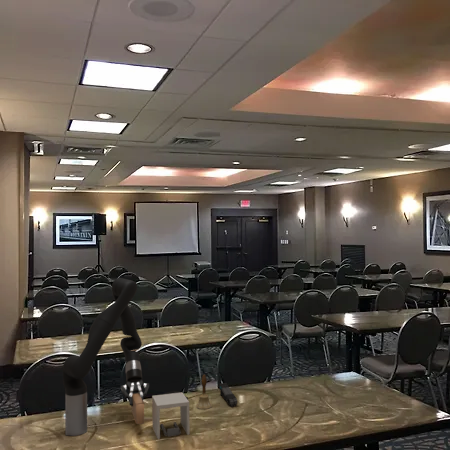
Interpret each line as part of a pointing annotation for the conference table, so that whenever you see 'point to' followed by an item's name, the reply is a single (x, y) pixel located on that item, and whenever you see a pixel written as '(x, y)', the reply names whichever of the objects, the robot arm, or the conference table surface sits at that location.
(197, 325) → the conference table surface
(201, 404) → the hand bell
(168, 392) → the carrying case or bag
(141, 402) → the rounded end wooden stick
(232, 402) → the gun
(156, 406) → the grey arch stand
